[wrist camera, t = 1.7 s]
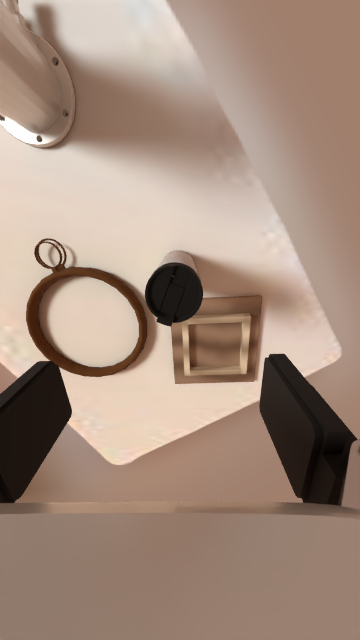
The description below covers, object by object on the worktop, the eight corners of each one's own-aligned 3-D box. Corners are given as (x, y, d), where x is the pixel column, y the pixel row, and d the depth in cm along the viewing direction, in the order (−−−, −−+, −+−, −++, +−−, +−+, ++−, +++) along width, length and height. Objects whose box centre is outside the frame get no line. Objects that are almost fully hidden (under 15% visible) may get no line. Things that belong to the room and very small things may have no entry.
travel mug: (157, 279, 42) (135, 316, 23) (168, 245, 39) (154, 256, 21) (187, 290, 42) (189, 334, 24) (199, 257, 40) (213, 278, 21)
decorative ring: (96, 212, 35) (164, 360, 46) (102, 214, 38) (165, 353, 48) (-24, 264, 39) (64, 391, 49) (-11, 262, 41) (70, 382, 52)
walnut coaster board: (169, 299, 43) (168, 303, 41) (260, 295, 42) (264, 299, 40) (175, 381, 50) (174, 388, 48) (252, 378, 50) (255, 385, 48)
